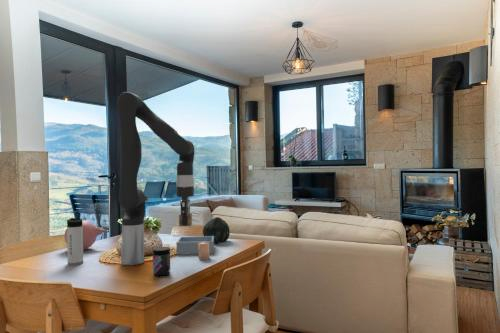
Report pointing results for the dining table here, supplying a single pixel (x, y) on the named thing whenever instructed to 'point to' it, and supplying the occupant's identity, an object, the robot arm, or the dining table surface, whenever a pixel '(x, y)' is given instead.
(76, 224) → the travel mug
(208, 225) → the squash
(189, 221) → the walnut cube
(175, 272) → the dining table surface
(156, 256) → the supplement container
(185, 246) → the tote
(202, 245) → the terracotta cylinder
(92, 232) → the balloon
